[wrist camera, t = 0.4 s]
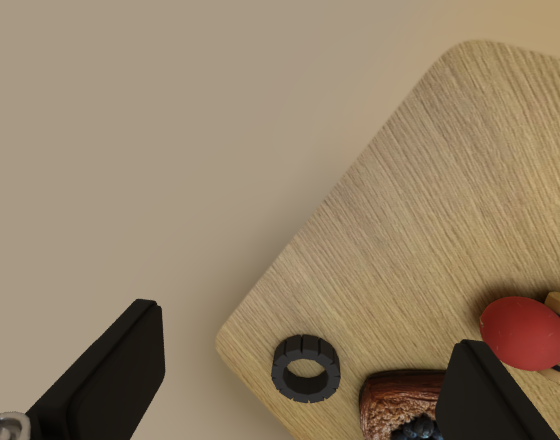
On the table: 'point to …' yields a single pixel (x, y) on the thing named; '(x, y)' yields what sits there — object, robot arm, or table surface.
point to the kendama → (525, 333)
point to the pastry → (400, 405)
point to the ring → (304, 387)
